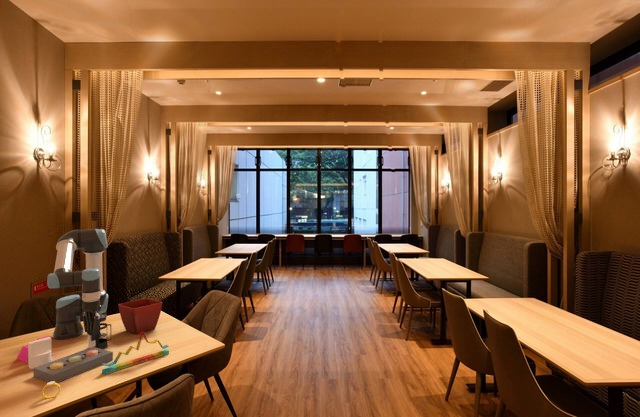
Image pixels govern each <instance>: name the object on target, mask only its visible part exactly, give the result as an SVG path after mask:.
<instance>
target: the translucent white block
mask: <svg viewBox="0 0 640 417" xmlns="http://www.w3.org/2000/svg"><path fill="white" fill-rule="evenodd" d="M38 339H39V338H38ZM27 345H28V368H29V369H32V370H33V368H35V367H38V366H41V365H44V364H46V363H49V362H52V356H53V355H52V352H51V351H52V336H51V337H47V338H43V339H39V340H37V339H36V340H32V341H29V342H27Z"/></svg>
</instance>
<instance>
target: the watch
mask: <svg viewBox="0 0 640 417" xmlns="http://www.w3.org/2000/svg"><path fill="white" fill-rule="evenodd" d="M51 386H56V387H57V388H58V392H57V393H56V394H53V395H48V396H47V395H45V393H44V390H45V388H47V387H51ZM60 392H61V385H60V383H59V382H58V383H55V381H51V382H47V383H46V385H44V387H43V388H42V389H41V396H42V397H43V398H44V399H46V400H47V399H52V398H56V397H57V396H58V395H59V394H60Z"/></svg>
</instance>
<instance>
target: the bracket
mask: <svg viewBox="0 0 640 417" xmlns="http://www.w3.org/2000/svg"><path fill="white" fill-rule="evenodd" d="M47 337H51V338H52V336H51V335H47V336H43V337H39V338H36V340H39V339H43V338H47ZM20 349H21V350H20V351H19V352H18V355H17V357H16V359H17V360H19V361H21V362H23V363H26V364H28V344H27V345H23V346H22V347H21V348H20ZM51 352H52V350H51Z"/></svg>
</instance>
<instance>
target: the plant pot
mask: <svg viewBox="0 0 640 417" xmlns="http://www.w3.org/2000/svg"><path fill="white" fill-rule="evenodd" d="M162 308H163V302H162V301H160V300H156V299H153V298H149V297H147V298H146V297H145V298H143V299H142V298H140V299H136V300H132V301H126V302H123V303H118V310H119V314H120V319H121V321H122V324H123V327H124V329H125V331H127V332H129V333H132V334H134V335H137V334H140V333H141V331H142V332H144V333H145V332H149V331H152V330H155V329H156V328H157V324H158V321H159V320H160V319H159V318H160V315H161V313H162V312H161V311H162Z"/></svg>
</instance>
